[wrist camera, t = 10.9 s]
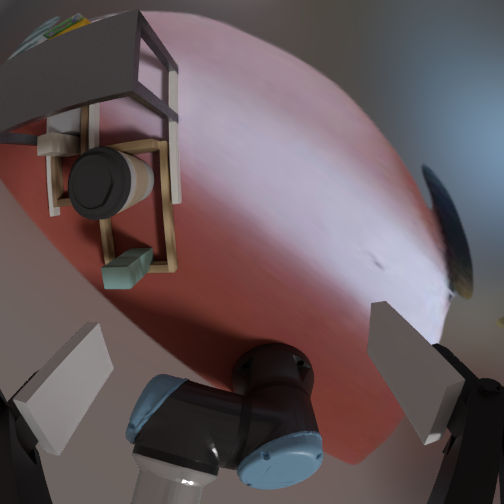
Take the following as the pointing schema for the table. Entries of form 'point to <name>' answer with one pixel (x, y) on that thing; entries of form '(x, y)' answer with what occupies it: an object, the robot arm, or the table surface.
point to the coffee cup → (108, 182)
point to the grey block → (66, 123)
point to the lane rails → (173, 144)
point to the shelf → (79, 74)
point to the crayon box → (67, 26)
